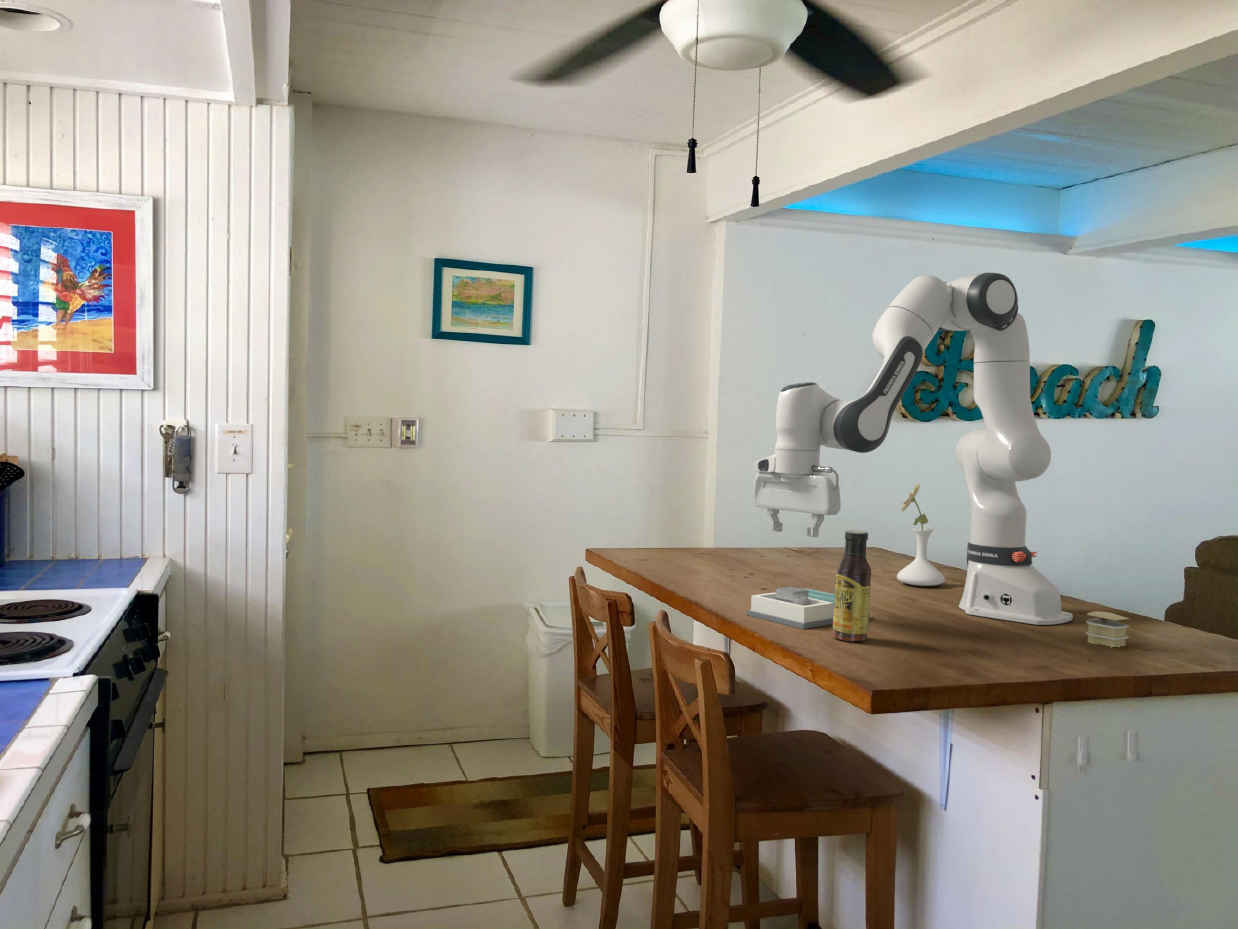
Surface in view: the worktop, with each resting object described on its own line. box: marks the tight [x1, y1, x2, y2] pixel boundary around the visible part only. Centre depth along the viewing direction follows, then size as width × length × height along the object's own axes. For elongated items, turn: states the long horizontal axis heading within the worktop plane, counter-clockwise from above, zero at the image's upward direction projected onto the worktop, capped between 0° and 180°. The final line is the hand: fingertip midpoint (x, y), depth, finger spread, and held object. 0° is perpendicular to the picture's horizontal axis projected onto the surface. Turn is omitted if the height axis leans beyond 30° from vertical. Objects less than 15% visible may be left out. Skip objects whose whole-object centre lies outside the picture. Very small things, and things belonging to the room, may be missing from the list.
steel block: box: [775, 586, 809, 606], centre depth 193 cm, size 4×4×5 cm
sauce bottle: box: [832, 529, 872, 643], centre depth 176 cm, size 6×6×20 cm
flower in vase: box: [896, 483, 946, 587], centre depth 237 cm, size 13×11×25 cm
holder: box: [746, 588, 871, 630], centre depth 196 cm, size 15×20×4 cm
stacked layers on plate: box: [1085, 610, 1130, 648], centre depth 178 cm, size 10×9×6 cm
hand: (794, 534), depth 193 cm, fingers open, 8 cm apart
